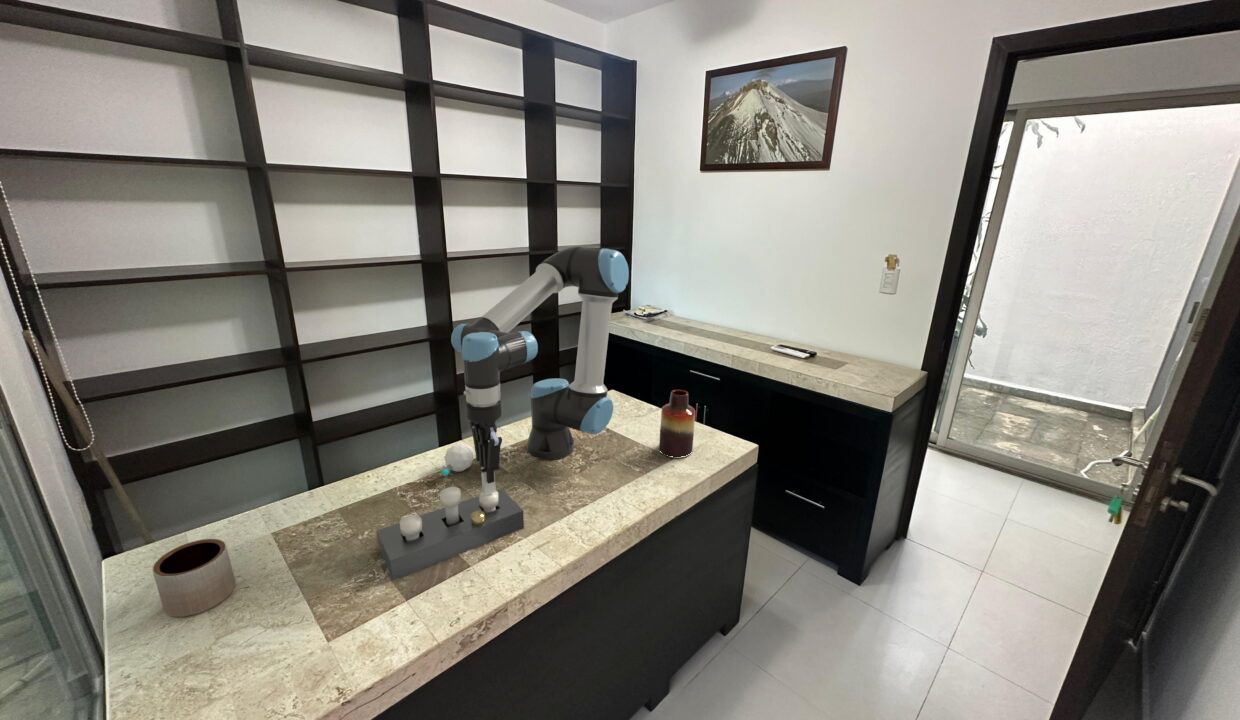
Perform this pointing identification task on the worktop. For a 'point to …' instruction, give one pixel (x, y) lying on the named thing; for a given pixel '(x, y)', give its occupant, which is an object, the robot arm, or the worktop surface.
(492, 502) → the knob
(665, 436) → the vase
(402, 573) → the mount
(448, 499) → the knob mid
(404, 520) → the knob
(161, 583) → the planter
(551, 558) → the worktop surface
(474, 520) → the brass dial
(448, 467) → the perfume bottle
